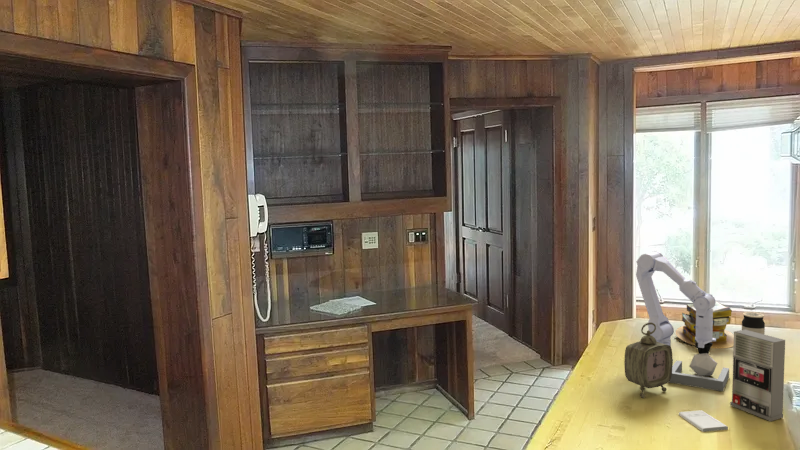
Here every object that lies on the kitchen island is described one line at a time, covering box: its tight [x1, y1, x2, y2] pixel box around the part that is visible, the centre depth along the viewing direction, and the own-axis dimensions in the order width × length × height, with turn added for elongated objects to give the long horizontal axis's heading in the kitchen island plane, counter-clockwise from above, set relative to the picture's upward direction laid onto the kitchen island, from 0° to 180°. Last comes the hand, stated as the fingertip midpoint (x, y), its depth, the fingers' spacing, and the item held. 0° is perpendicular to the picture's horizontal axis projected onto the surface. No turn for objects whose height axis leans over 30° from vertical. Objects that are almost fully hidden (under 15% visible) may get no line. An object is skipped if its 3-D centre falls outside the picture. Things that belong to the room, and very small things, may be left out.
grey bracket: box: [668, 360, 730, 392], centre depth 224 cm, size 18×16×4 cm
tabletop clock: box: [623, 322, 674, 399], centre depth 212 cm, size 14×9×25 cm, turn 117°
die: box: [689, 353, 718, 377], centre depth 228 cm, size 8×9×10 cm
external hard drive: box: [678, 409, 729, 433], centre depth 189 cm, size 2×8×12 cm
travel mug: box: [741, 311, 766, 335], centre depth 245 cm, size 8×8×18 cm
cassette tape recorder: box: [729, 329, 786, 422], centre depth 193 cm, size 14×6×25 cm, turn 23°
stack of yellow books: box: [675, 300, 734, 349], centre depth 271 cm, size 25×25×17 cm
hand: (703, 361), depth 232 cm, fingers closed, pressing on die
